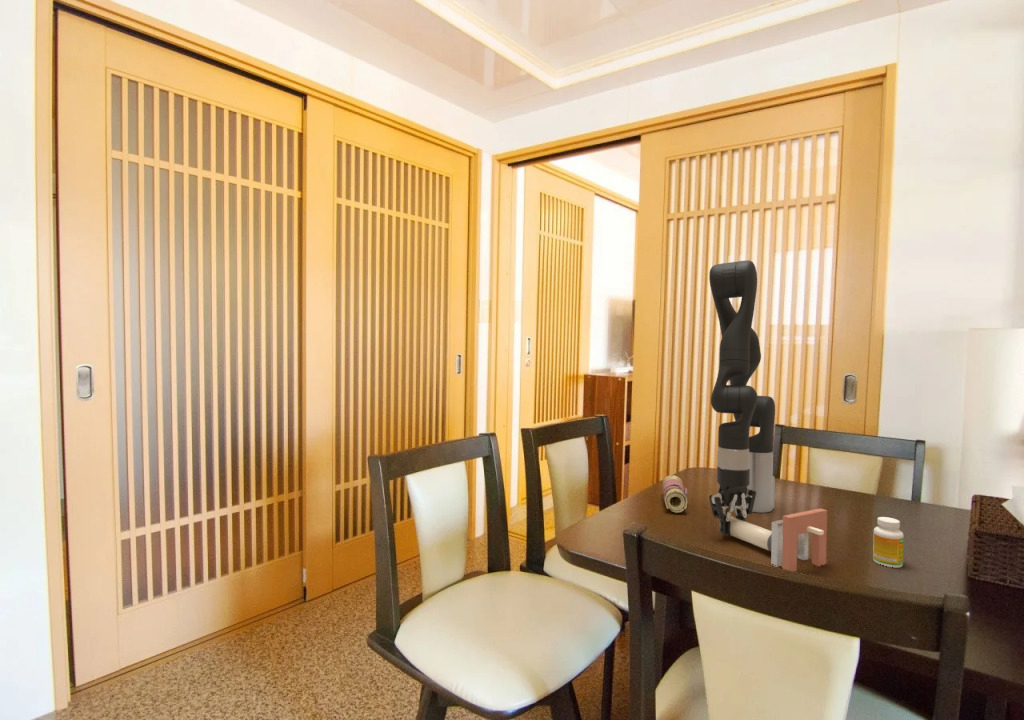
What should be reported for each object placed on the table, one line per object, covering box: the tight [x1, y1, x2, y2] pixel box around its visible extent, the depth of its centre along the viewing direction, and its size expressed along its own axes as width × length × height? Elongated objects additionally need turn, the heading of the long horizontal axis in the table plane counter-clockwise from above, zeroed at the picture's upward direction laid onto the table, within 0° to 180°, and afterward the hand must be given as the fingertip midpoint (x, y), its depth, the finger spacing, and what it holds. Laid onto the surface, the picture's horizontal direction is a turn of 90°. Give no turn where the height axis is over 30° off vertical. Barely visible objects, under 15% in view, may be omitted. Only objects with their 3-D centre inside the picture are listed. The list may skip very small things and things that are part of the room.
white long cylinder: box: [729, 515, 783, 553], centre depth 125 cm, size 16×5×5 cm, turn 25°
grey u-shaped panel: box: [770, 519, 810, 568], centre depth 116 cm, size 10×2×10 cm, turn 115°
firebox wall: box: [781, 507, 828, 571], centre depth 111 cm, size 12×4×12 cm, turn 115°
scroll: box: [662, 474, 690, 514], centre depth 158 cm, size 8×8×20 cm
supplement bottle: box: [872, 516, 905, 569], centre depth 115 cm, size 5×5×10 cm
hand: (732, 532), depth 131 cm, fingers closed on white long cylinder, 4 cm apart
